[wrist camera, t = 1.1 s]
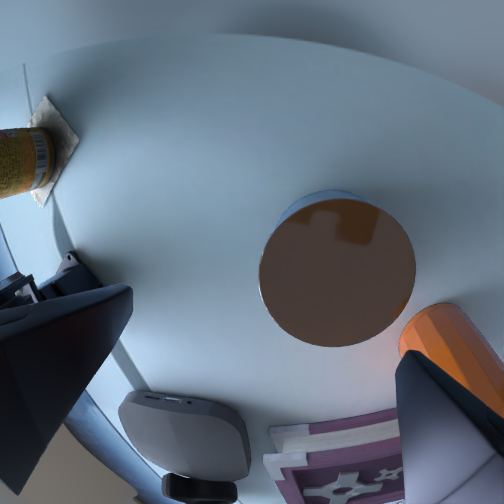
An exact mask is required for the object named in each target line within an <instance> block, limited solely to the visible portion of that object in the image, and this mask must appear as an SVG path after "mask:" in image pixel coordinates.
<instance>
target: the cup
mask: <svg viewBox="0 0 504 504" xmlns="http://www.w3.org/2000/svg"><path fill="white" fill-rule="evenodd" d="M398 348H399V354H400V357H401V360H402V358H403V356H404V354H405V352H406V351H407V350H409V349H411V350H418V351H420V352H421V353H423V354H424V355H425V356H426V357H428V358H429V359H430V360H432V361H433V362H434V363H435V364H437V365H438V366H439V367H440V368H442V369H443V370H444V371H445V372H447V373H448V374H449V375H450V376H452V377H453V378H454V379H455V380H457V381H458V382H459V383H460V384H462V385H463V386H464V387H465V388H466V389H468V390H469V391H470V392H471V393H473V394H474V395H475V396H476V397H478V398H479V399H480V400H481V401H482V402H484V403H485V404H486V406H489V407H490V408H491V409H492V410H493V411H495V412H496V413H497V414H498V415H500V416H501V417H502V418H503V419H504V364H503V362H502V361H501V359H500V358H499V356H498V355H497V354H496V352H495V351H494V350H493V348H492V347H491V345H490V344H489V343H488V341H487V340H486V339H485V337H484V336H483V335H482V333H481V332H480V331H479V330H478V328H477V327H476V326H475V324H474V323H473V322H472V321H471V319H470V318H469V317H468V316H467V314H466V313H465V312H463V310H462V309H461V308H460V307H458V306H456V305H454V304H450V303H439V304H435V305H432V306H429V307H427V308H425V309H423V310H422V311H420V312H419V313H418V314H416V315H415V316H414V317H413V318H412V319H411V320H410V321H409V322H408V324H407V325H406V327H405V328H404V330H403V332H402V334H401V337H400V340H399V347H398Z"/></svg>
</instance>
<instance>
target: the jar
mask: <svg viewBox="0 0 504 504" xmlns="http://www.w3.org/2000/svg"><path fill="white" fill-rule="evenodd" d="M415 275H416V262H415V255H414V251H413V247H412V244H411V242H410V240H409V238H408V235H407V234H406V232H405V231H404V229H403V228H402V226H401V225H400V224H399V223H398V222H397V221H396V220H395V219H394V218H393V217H392V216H391V215H390V214H388V213H387V212H386V211H385V210H383V209H382V208H380V207H379V206H377V205H375V204H373V203H371V202H369V201H367V200H366V199H364V198H362V197H361V196H358V195H356V194H354V193H350V192H347V191H341V190H325V191H319V192H315V193H312V194H309V195H307V196H305V197H303V198H301V199H299V200H298V201H296V202H295V203H294V204H292V205H291V206H290V207H289V208H288V209H287V210H286V211H285V212H284V213H283V215H282V216H281V217H280V219H279V220H278V222H277V224H276V226H275V228H274V230H273V231H272V233H271V234H270V236H269V238H268V240H267V242H266V244H265V247H264V250H263V252H262V255H261V259H260V263H259V270H258V283H259V290H260V295H261V298H262V300H263V303H264V305H265V307H266V309H267V311H268V313H269V314H270V316H271V317H272V318H273V320H274V321H275V322H276V323H277V324H278V325H279V326H280V327H281V328H282V329H283V330H284V331H286V332H287V333H288V334H290V335H292V336H293V337H295V338H297V339H299V340H301V341H303V342H306V343H309V344H312V345H317V346H323V347H343V346H350V345H354V344H358V343H361V342H363V341H366V340H368V339H370V338H372V337H374V336H376V335H378V334H379V333H381V332H382V331H384V330H385V329H386V328H387V327H388V326H390V325H391V324H392V323H393V322H394V321H395V320H396V319H397V318H398V316H399V315H400V314H401V312H402V311H403V310H404V308H405V306H406V304H407V303H408V301H409V298H410V296H411V293H412V290H413V287H414V283H415Z"/></svg>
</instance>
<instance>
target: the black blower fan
mask: <svg viewBox="0 0 504 504" xmlns="http://www.w3.org/2000/svg"><path fill="white" fill-rule="evenodd" d="M162 494H163V496H165V497H168V498H171V499H174V500H177V501H180V502H183V503H186V504H232V503H234V502H236V501H237V498H238V494H237V487H236V485H235V484H234V483H233V482H231V481H209V480H201V479H195V478H186V477H182V476H179V475H177V474H174V473H168V474H166V475H164V476H163V478H162Z"/></svg>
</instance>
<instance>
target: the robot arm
mask: <svg viewBox="0 0 504 504" xmlns="http://www.w3.org/2000/svg"><path fill="white" fill-rule="evenodd" d="M70 256H71V257H70ZM132 312H133V289H132V288H131V287H130V286H128V285H124V284H116V285H112V286H108V287H104V286H103V285H102V284H101V283H100V282H99V281H98V279H97V278H96V277H95V276H94V275H93V274H92V273H91V272H90V271H89V270H88V269H87V267H86V266H85V265H84V264H83V263H82V262H81V261H80V260H79V258H78V257H77V256H76V255H75V254H74V253H73V252H71V251H70V252H68V253H67V254H66V255H65V257H64V259H63V261H62V263H61V265H60V267H59V269H58V271H57V273H56V275H54V276H53V277H51V278H50V279H48V280H46V281H45V282H43V283H42V284H40V285H39V286H36V284H35V282H34V278H33V276H32V274H30V275H28V276H26V277H25V275H22V274H21V273H20V272H19V271H18V272H16V273H15V274H13V275H11V276H9V277H8V278H6V279H4V280H2V281H1V282H0V482H1V483H2V484H3V485H5V486H6V487H7V488H8V489H9V490H11V491H12V492H13V493H15V494H16V495H17V496H18V495H19V494H20V492H21V491H22V489H23V487H24V486H25V484H26V482H27V480H28V479H29V477H30V475H31V473H32V472H33V470H34V468H35V467H36V465H37V463H38V462H39V460H40V458H41V457H42V455H43V454H44V452H45V450H46V449H47V446H48V445H49V444H50V442H51V440H52V439H53V437H54V435H55V434H56V432H57V431H58V429H59V427H60V426H61V424H62V423H63V421H64V420H65V418H66V417H67V415H68V414H69V412H70V411H71V409H72V408H73V406H74V405H75V403H76V402H77V400H78V399H79V397H80V396H81V394H82V393H83V391H84V390H85V388H86V387H87V385H88V384H89V382H90V381H91V380H92V378H93V377H94V375H95V374H96V372H97V371H98V369H99V368H100V367H101V365H102V364H103V362H104V361H105V359H106V358H107V357H108V355H109V354H110V352H111V351H112V349H113V348H114V346H115V344H116V342H117V341H118V339H119V337H120V335H121V333H122V332H123V330H124V328H125V326H126V324H127V323H128V321H129V319H130V317H131V315H132ZM395 379H396V400H397V416H398V424H399V432H400V441H401V450H402V460H403V472H404V487H405V504H504V419H503V418H502V417H501V416H500V415H498V414H497V413H496V412H495V411H493V410H492V409H491V408H490V407H489V406H486V404H485V403H484V402H482V401H481V400H480V399H479V398H478V397H476V396H475V395H474V394H473V393H471V392H470V391H469V390H468V389H466V388H465V387H464V386H463V385H462V384H460V383H459V382H458V381H457V380H455V379H454V378H453V377H452V376H450V375H449V374H448V373H447V372H445V371H444V370H443V369H442V368H440V367H439V366H438V365H437V364H435V363H434V362H433V361H432V360H430V359H429V358H428V357H426V356H425V355H424V354H423V353H421V352H420V351H418V350H411V349H409V350H407V351H406V352H405V354H404V356H403V358H402V360H401V362H400V363H399V365H398V367H397V369H396V373H395Z"/></svg>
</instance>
